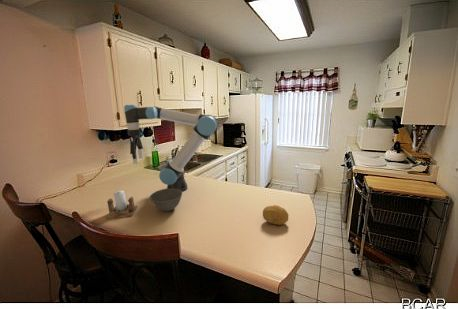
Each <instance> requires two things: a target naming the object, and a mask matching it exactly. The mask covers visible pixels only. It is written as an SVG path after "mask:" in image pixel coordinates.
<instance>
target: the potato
mask: <svg viewBox="0 0 458 309" xmlns="http://www.w3.org/2000/svg"><path fill="white" fill-rule="evenodd" d="M262 218H263V219H264V221H266V222H268V223H269V224H272V225H278V226H281V225H285V224H286V223H288V221H289V213H288V211H287V210H286V209H285V208H284V207H281V206H280V205H277V204H275V205H268V206H266V207H265V208H263V210H262Z"/></svg>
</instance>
